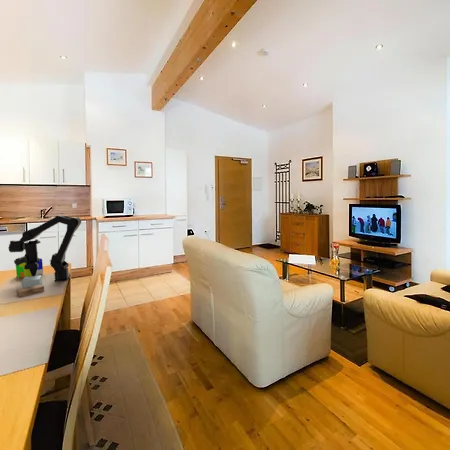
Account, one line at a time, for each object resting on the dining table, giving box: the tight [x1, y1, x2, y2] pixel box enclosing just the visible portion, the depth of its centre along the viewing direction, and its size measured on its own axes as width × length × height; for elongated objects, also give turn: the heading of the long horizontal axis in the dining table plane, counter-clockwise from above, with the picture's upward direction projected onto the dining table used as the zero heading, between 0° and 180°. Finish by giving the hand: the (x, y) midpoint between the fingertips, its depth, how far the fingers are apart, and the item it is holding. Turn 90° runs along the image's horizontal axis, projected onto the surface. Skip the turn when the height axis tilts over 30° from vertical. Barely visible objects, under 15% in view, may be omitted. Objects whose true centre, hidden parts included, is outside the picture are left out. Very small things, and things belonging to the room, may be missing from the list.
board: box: [15, 284, 45, 298], centre depth 148 cm, size 11×5×3 cm, turn 141°
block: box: [21, 274, 43, 289], centre depth 158 cm, size 8×9×5 cm
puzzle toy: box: [15, 258, 44, 278], centre depth 180 cm, size 10×10×10 cm
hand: (33, 277), depth 167 cm, fingers closed
